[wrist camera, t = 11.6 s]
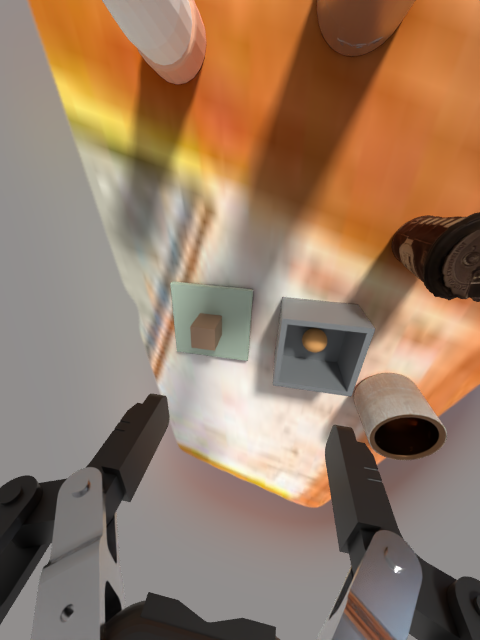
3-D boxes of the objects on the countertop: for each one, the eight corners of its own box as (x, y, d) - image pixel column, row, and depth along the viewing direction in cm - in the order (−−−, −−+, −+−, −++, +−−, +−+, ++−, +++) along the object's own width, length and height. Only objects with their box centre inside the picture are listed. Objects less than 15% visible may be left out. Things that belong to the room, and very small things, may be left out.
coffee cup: (412, 283, 35) (475, 323, 24) (368, 252, 34) (411, 279, 23) (468, 229, 31) (576, 248, 20) (419, 193, 30) (503, 190, 19)
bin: (282, 297, 39) (282, 318, 32) (358, 304, 38) (375, 328, 31) (274, 355, 45) (272, 385, 38) (340, 364, 43) (351, 396, 36)
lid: (174, 280, 41) (156, 293, 36) (253, 288, 40) (248, 303, 34) (180, 346, 48) (165, 367, 42) (248, 356, 46) (243, 378, 40)
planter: (370, 363, 42) (392, 404, 34) (429, 381, 42) (466, 427, 34) (342, 403, 47) (355, 448, 39) (394, 420, 47) (418, 468, 39)
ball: (303, 322, 40) (305, 334, 37) (327, 325, 40) (331, 337, 36) (299, 342, 42) (301, 355, 38) (322, 345, 41) (326, 358, 38)
